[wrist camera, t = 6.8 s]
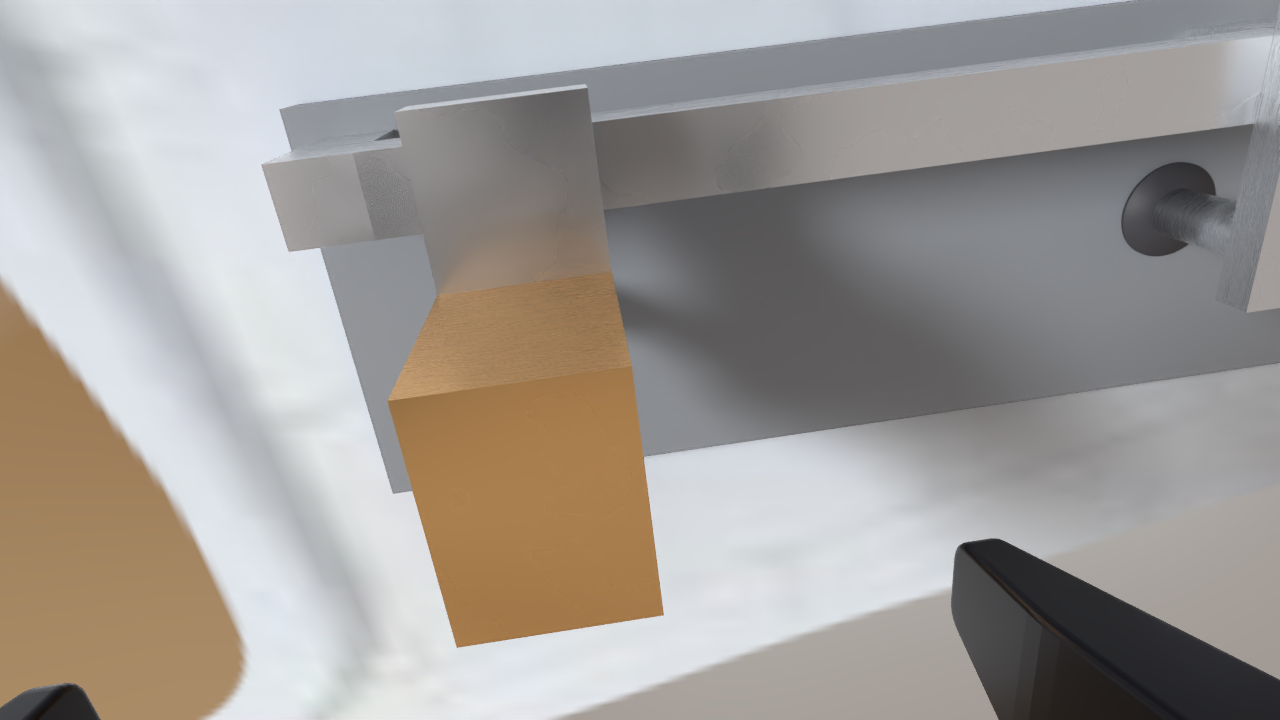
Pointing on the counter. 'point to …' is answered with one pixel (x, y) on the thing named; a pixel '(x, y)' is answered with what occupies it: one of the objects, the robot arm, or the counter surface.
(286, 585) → the counter surface
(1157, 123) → the divider frame
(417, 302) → the bolt plate
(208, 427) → the counter surface
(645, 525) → the sliding leg
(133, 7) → the counter surface
